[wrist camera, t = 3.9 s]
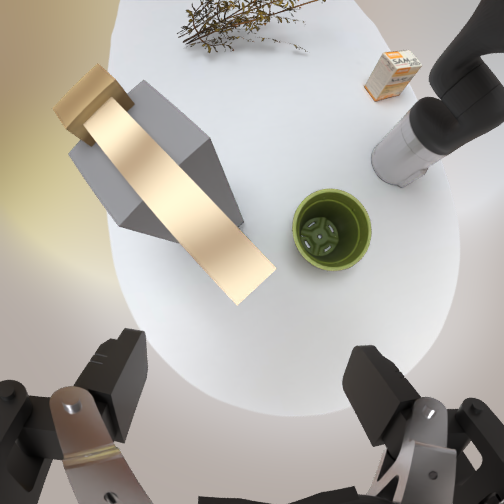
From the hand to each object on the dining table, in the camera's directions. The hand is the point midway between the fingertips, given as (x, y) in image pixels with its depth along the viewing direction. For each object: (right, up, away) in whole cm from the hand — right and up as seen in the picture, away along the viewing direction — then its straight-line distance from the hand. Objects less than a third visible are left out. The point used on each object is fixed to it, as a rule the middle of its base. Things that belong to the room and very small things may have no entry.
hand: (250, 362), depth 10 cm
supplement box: (+30, +41, +41) cm, 65 cm away
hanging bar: (-6, +9, +7) cm, 12 cm away
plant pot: (+12, +7, +40) cm, 42 cm away
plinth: (-7, +10, +41) cm, 42 cm away
